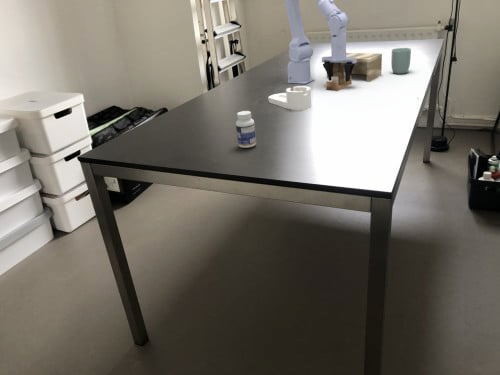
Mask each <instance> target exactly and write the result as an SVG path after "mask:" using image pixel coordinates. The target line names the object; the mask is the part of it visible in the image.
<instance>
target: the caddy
mask: <svg viewBox="0 0 500 375" xmlns="http://www.w3.org/2000/svg"><path fill="white" fill-rule="evenodd" d="M350 85H352V75H351V76H350V81H348V82H346V80H345V72H343V73H341V72H337V73H335V74H334V76H332V77H331V81H329V80H327V81H326V82H325V86H326V88H325V89H326V91H334V92H339V91H340V90H342V89H344V88H346V87H348V86H350Z"/></svg>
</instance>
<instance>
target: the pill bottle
mask: <svg viewBox="0 0 500 375" xmlns="http://www.w3.org/2000/svg"><path fill="white" fill-rule="evenodd" d="M236 117H237V118H236V119H237V120H236V122H235V128H236V136H237V144H238V146H239V147H240V148H252V147H254V146H255V145H257V137H256V135H257V134H256V126H255V125H256V124H255V120H254V119H253V118H252V112H251V111H250V110H242V111H239V112H236Z"/></svg>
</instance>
